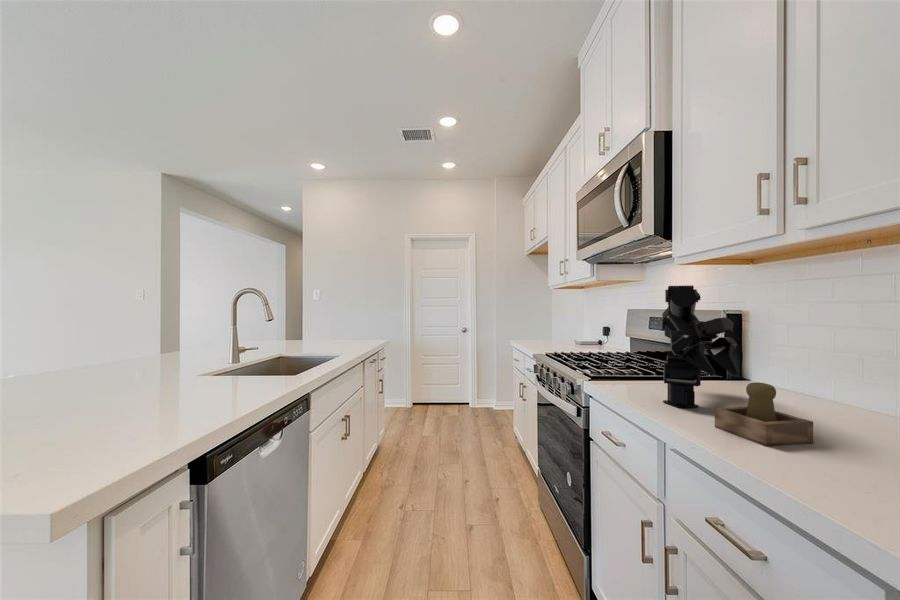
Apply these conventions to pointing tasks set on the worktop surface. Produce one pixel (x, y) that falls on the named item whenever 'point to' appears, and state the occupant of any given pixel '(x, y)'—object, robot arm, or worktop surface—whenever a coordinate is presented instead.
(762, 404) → the cork
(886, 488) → the worktop surface
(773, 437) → the socket block
